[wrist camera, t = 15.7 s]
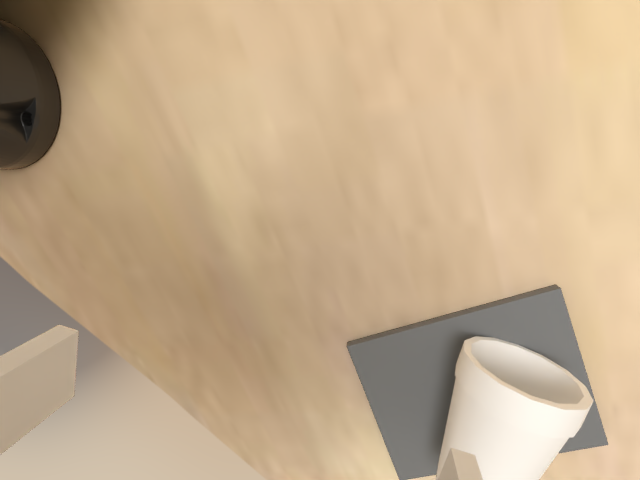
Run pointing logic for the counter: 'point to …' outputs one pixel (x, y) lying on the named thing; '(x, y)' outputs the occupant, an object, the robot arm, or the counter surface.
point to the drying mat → (439, 371)
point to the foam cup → (511, 409)
